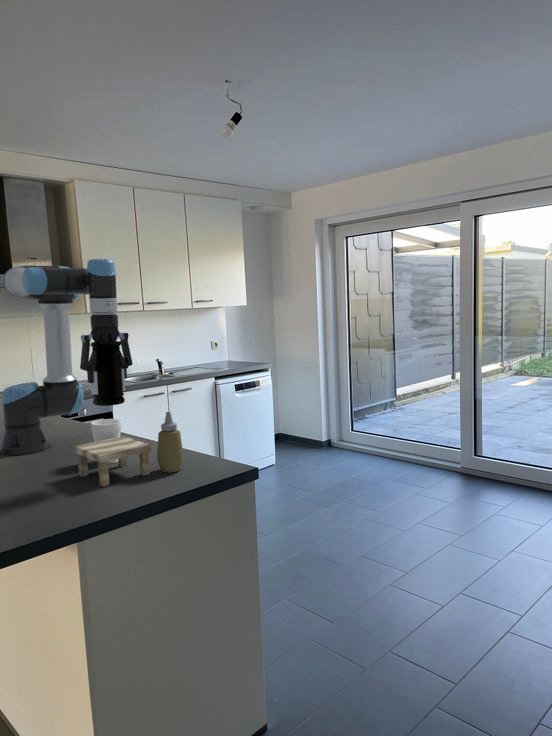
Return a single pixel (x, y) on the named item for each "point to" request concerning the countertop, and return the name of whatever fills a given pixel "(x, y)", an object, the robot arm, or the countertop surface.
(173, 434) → the squeeze bottle
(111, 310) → the robot arm
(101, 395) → the container
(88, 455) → the beige flat-topped legged fixture
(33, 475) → the countertop surface
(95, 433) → the foam cup
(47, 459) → the countertop surface
